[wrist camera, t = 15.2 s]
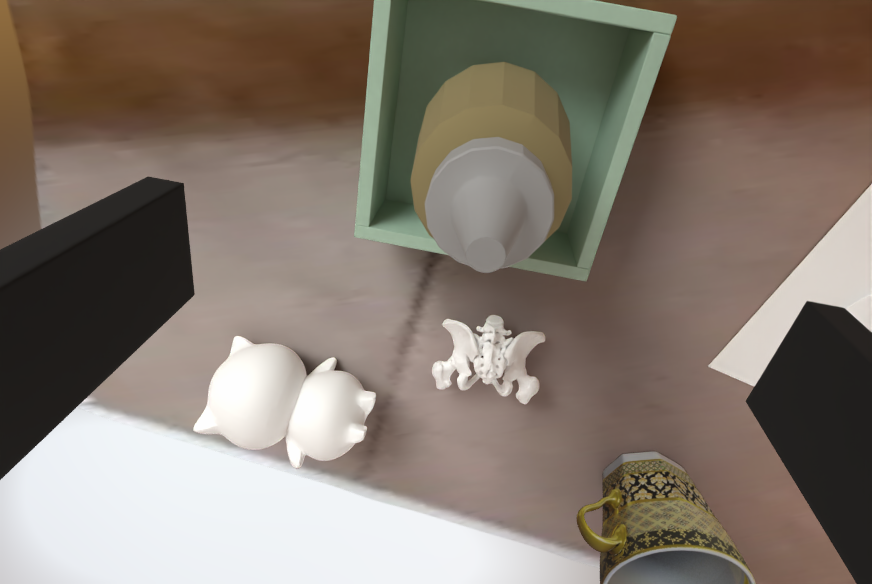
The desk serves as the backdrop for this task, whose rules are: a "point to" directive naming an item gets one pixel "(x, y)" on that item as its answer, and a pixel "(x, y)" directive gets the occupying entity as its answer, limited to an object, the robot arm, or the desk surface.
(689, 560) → the ceramic cup
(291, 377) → the cat figurine
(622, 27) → the bin
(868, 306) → the teacup and saucer
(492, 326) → the anatomical pelvis
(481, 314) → the desk surface
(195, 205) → the desk surface
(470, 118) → the squeeze bottle
